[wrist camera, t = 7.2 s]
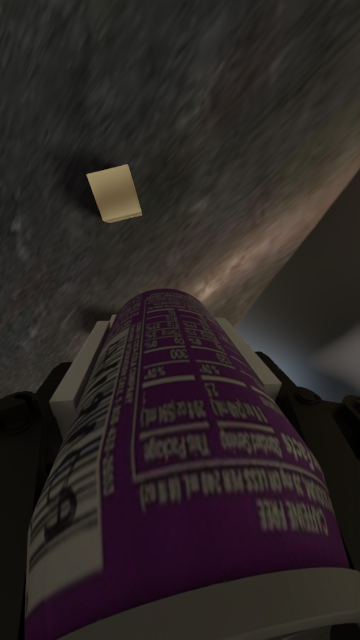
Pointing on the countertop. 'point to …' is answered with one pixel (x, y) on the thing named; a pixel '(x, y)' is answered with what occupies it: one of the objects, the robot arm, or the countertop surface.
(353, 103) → the countertop surface
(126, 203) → the beech cube
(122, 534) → the beverage can
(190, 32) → the countertop surface
